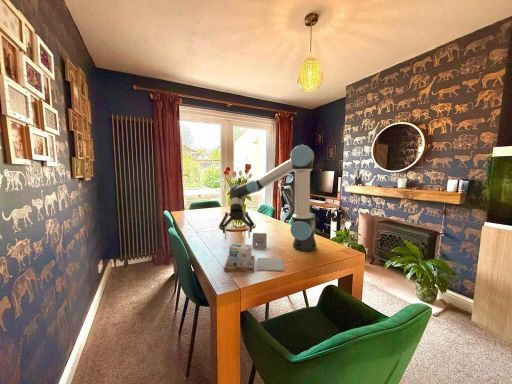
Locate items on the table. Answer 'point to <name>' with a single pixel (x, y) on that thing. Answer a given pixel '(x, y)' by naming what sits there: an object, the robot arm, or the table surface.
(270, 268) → the rubber mat
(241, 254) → the light bulb box
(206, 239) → the table surface
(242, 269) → the walnut collar
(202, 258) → the table surface
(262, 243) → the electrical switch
